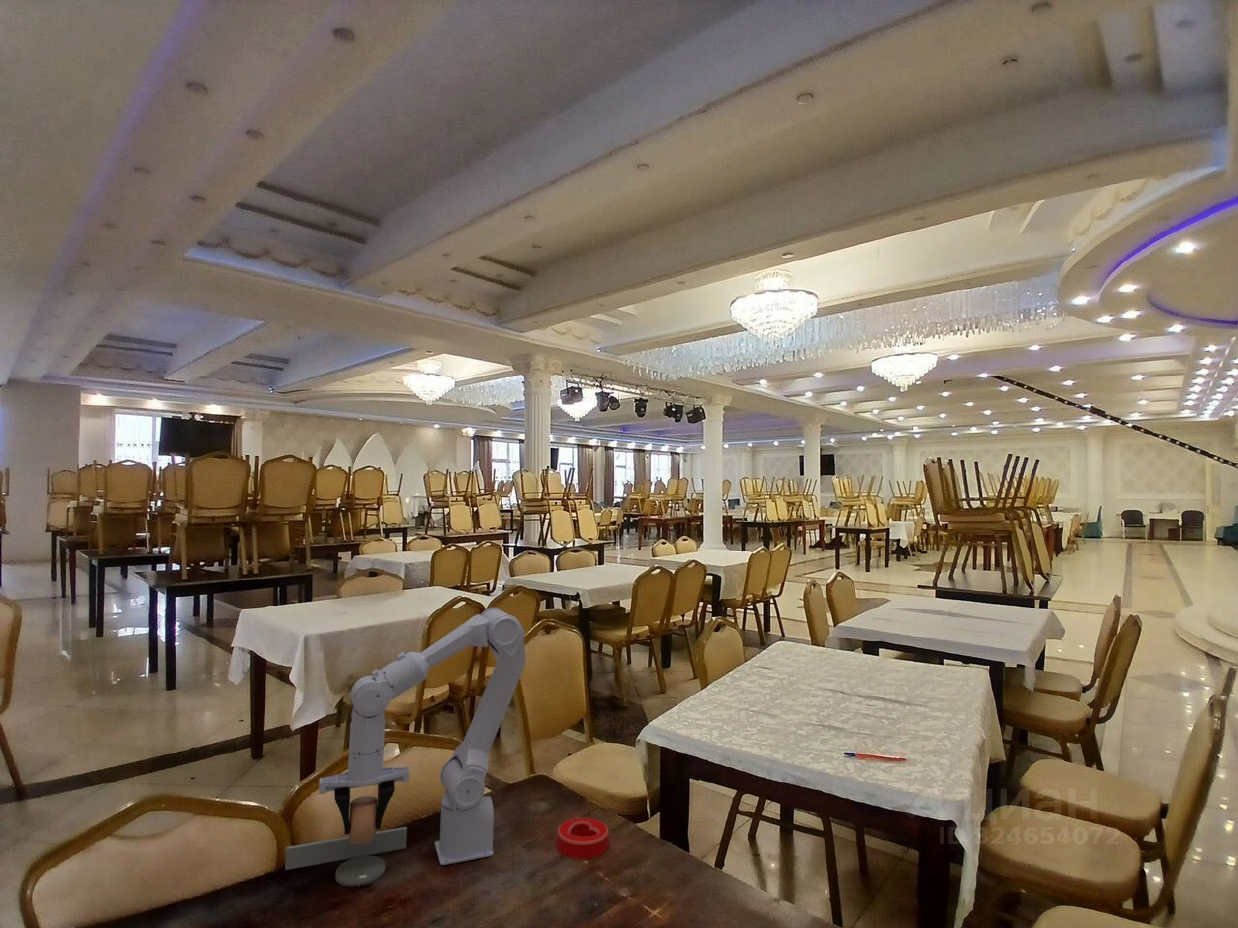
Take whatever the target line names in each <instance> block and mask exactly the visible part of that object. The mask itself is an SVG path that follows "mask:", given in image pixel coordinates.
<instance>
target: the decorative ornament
mask: <svg viewBox="0 0 1238 928" xmlns="http://www.w3.org/2000/svg"><path fill="white" fill-rule="evenodd" d="M556 844H557V847H556V848H557V850H558V852H560V854H561V855H563V856H565V857H567V858H571V859H577V860H589V859H593V858H598V857H599V856H602V855H603V854H605V852H607V850H608V848H609V829H608V826H607V825H606V824H605V823H603V822H602V821H601V820H597V819H594V818H590V817H578V818H572V819H569V820H566V821H564V822H563V823H562V824H561V825H560V826H558V829H557V842H556Z"/></svg>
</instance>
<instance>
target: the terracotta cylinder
mask: <svg viewBox="0 0 1238 928" xmlns="http://www.w3.org/2000/svg"><path fill="white" fill-rule="evenodd" d="M377 804H378V797H376V796H372V795H371V796H369V795H367V796H365V795H363V796H360V797H356V798H355V799H353V800H350V807H349V834H348V837H349V838H348V841H349V842H350V843H352V844H364V843H368V842H370V841H372V840H373V839H374V838H375V837H376V832H377V829H376V819H377Z"/></svg>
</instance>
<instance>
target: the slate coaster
mask: <svg viewBox="0 0 1238 928" xmlns="http://www.w3.org/2000/svg"><path fill="white" fill-rule="evenodd" d="M385 872H386V861H385V860H384V859H383V858H381V857H379V856H376V855H366V856H361V857H355V858H350V859H347V860H346V861H344V862H342V863H341V864H340V865H339V866H338V867H337V868H336V870H335V875H334V876H335V877H334V878H335V882H336V883H337V884H338V885H340V886H343V887H347V886H349V887H350V888H355V887H354V886H357V887H361V886H360V885H363V886H367V885H369V884H372V883H374V882H376V881H378V880H380V878H382V876H384V874H385ZM349 887H348V888H349Z"/></svg>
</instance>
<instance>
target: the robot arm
mask: <svg viewBox="0 0 1238 928" xmlns="http://www.w3.org/2000/svg"><path fill="white" fill-rule="evenodd" d="M525 635H526V632H525V630H524V628H523V626H522V624H521V622H520V621H519V619H518V618H517V617H515V616H514V615H512V614H508V613H506V612H505V611H504V610H502V609H500V608H498V607H490V608H487V609H485V610H484V611H482V612H481V614H480V613H478V614H476V615H474V616H471V618H469V619H468V620H467V621H465V622H464V623H463V624H461V625H459V626H458V627H457V628H455V629H454V630H452V631H451V632H449V633H447V634H446V635H445V636H443V637H441V639H439V640H438V641H436V642H435V643H433V644H432V645H430V646H428V647H427V648H426V649H424V650H423V651H421V652H418V651H417V652H415V651H411V650H410V651H409V652H407V653H406V654H405V653H404V652H402V651H401V652H400V653H399V654H397V655H396V658H397V659H395V660H394V661H392V662H391V663H389V664H387V665H385V666H384V667H382V668H381V669H379V670H378V669H377V668H376V669H374V670H373V671H371V674H372V675H366V676H363V677H361V678H359V679H358V680H356V681H355V683H354V684H353V686H352V688H351V691H350V692H349V699H350V700H351V701H350V702H351V704H352V705H353V706H352V711H351V713H350V714H351V715H350V716H351V722H350V725H349V728H350V729H349V745H348V746H349V747H348V762H347V763H348V764H347V765H348V766H347V771H346V772H342V773H338V774H334V775H331V776H326V777H319V785H318V795H324V794H326V793H327V792H333V791H334V792H333V793H334V795H333V797H334V801H335V804H336V806H337V807H338V810H339V812H340V815H341V818H342V821H343V826H344V827H343V828H344V835H349V819H350V803H351V789H354V788H361V787H362V788H363V787H369V786H370V787H371V786H377V819H376V830H380V829H381V827H382V821H383V818H384V815H385V812H386V809H387V807H388V805H389V803H390V801H391V799H392V797H393V795H394V793H395V789H396V788H395V783H398V782H399V783H400V782H402V783H409V782H410V768H409V766H403V767H398V766H397V767H395V766H394V767H391V766H390V767H384V758H385V757H384V755H385V752H384V751H385V735H386V734H385V733H386V732H385V731H386V719H385V711H386V709H387V707H388V706H389V705H390V701H392V700H395V699H396V698H398V697H400V696H401V695H402V694H404V693H406V692H407V691H409V690H410V689H412V688H414V687H415V686H416V685H418V684H420V683H422V682H423V681H424V680H426V679H427V677H428V673H429V671H430V669H431V668H433V667H435V666H437V665H439V664H440V663H442V662H444V661H445V660H447V659H449V658H451V657H452V656H454V655H456V654H457V653H459V652H461V651H463V650H464V649H466V648H468V647H482V648H488V646H489V647H490V649H491V651H492V654H493V656H494V658H495V660H496V664H495V666H494V668H493V671H492V673H491V675H490V678H489V680H488V683H487V685H486V687H485V690H484V692H483V693H482V694H483V695H482V697H481V699H480V701H479V704H478V707H477V708H476V711H475V714H474V716H473V718H472V720H471V722H470V725H469V727H468V729H467V733H466V734H465V736H464V739H463V741H462V742H461V743H460V744H459V745H458V746H457V747H456V748H455V749H454V751H453V754H452V755H451V757H450V758H449V759H447V761H446V762H445V763H443V766H442V768H441V770H440V776H439V777H440V783H441V784H442V787H444V788H445V790H444V793H443V796H442V798H441V806H440V826H439V827H440V828H439V830H440V831H439V840H436V841H434V847H435V850H436V855H437V857H438V862H439V864H440V865H441V866H446V865H451V864H456V863H461V862H466V861H471V860H476V859H482V858H486V857H492V856H493V855H494V825H495V824H494V823H495V822H494V821H495V820H494V819H495V817H494V815H495V814H494V812H495V811H494V803H493V800H492V797H491V796H484V794H485V791H486V784H485V783H486V776H487V774H488V772H489V754H490V751H491V749H492V747H493V744H494V741H495V740H496V737H497V734H498V732H499V730H500V729H499V728H500V726H501V724H502V722H503V720H504V717H505V714H506V713H507V710H508V708H509V705H510V702H511V700H512V697H513V695H514V694H515V693H514V692H515V691H516V688H517V686H518V683H519V681H520V679H521V675H522V673H523V670H524V668H525V666H526V663H527V658H526V647H525V637H526V636H525Z"/></svg>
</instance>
